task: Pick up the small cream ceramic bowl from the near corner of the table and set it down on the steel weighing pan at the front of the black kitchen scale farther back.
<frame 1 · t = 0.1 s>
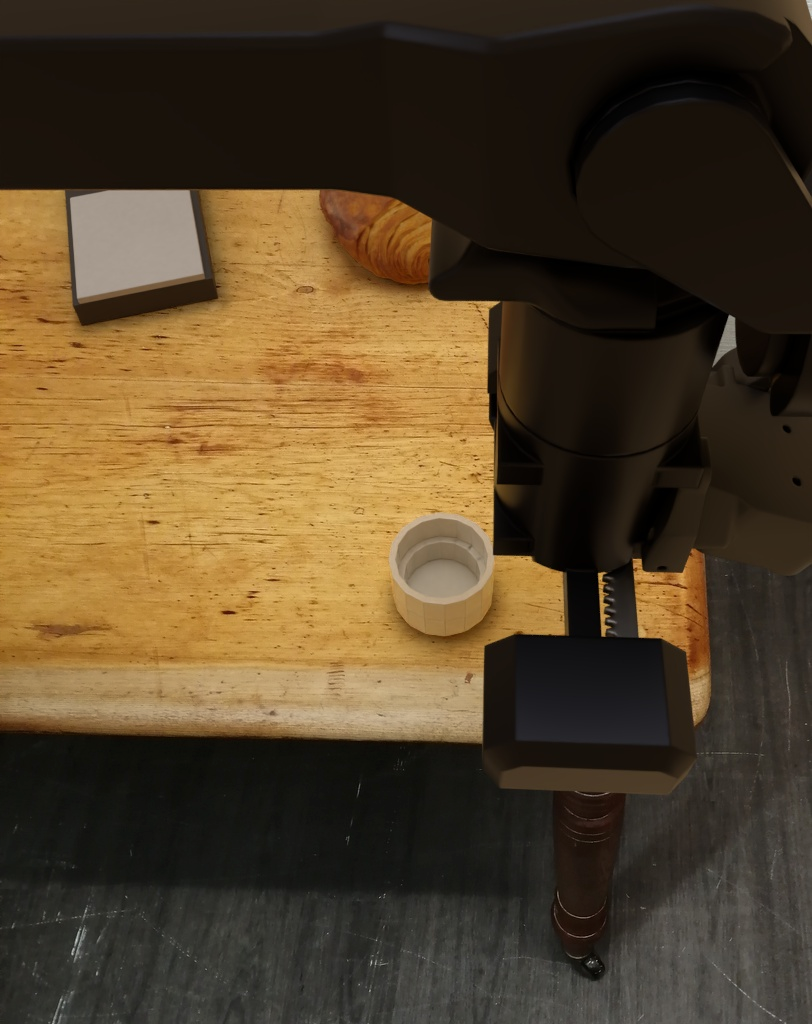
hand: (556, 621, 41), 14 cm above the table, tool pointing down, fingers open, 9 cm apart
bowl: (443, 595, 58), on the table
scale: (135, 196, 79), on the table
croissant: (417, 222, 76), on the table
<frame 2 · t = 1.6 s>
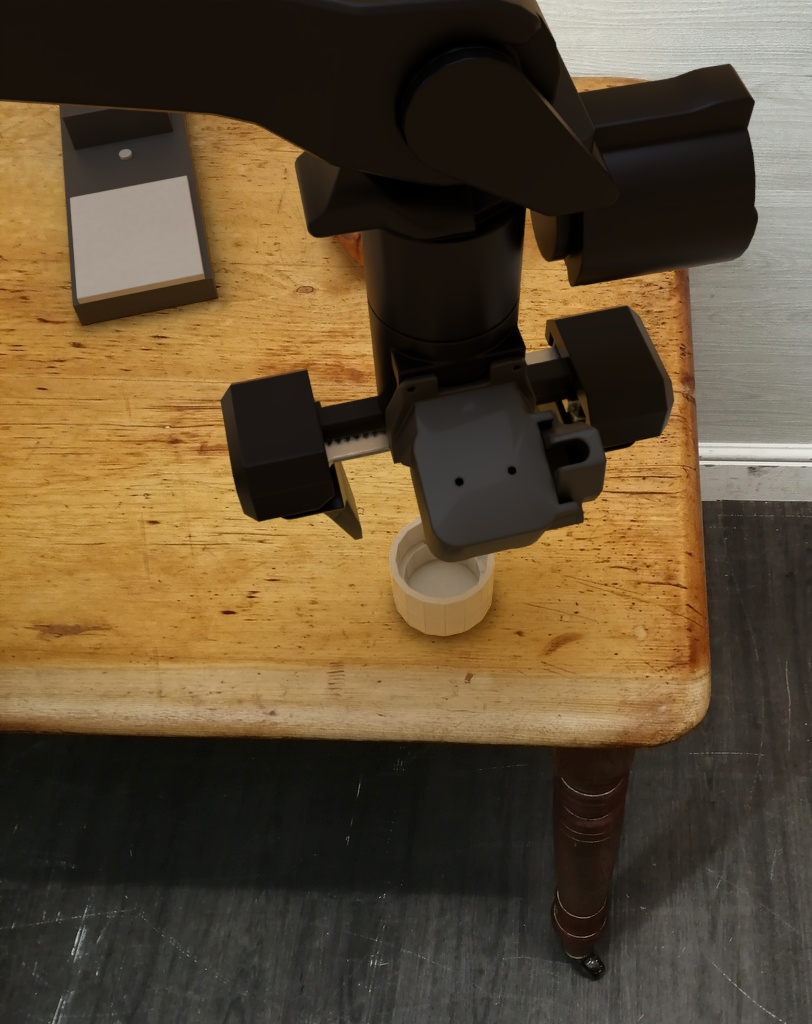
hand: (446, 512, 50), 10 cm above the table, tool pointing down, fingers open, 9 cm apart
nothing on the table moved.
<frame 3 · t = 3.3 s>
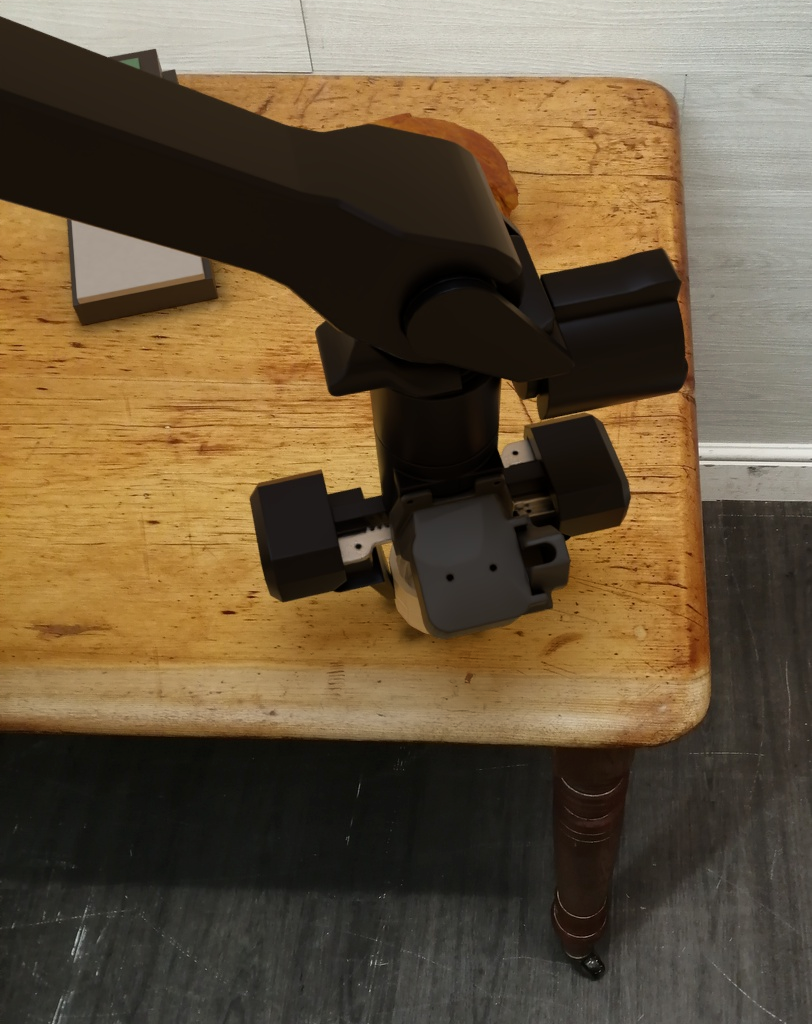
hand: (440, 581, 58), 1 cm above the table, tool pointing down, fingers closed on bowl, 6 cm apart
bowl: (443, 594, 58), on the table, touching gripper
everything else where it was.
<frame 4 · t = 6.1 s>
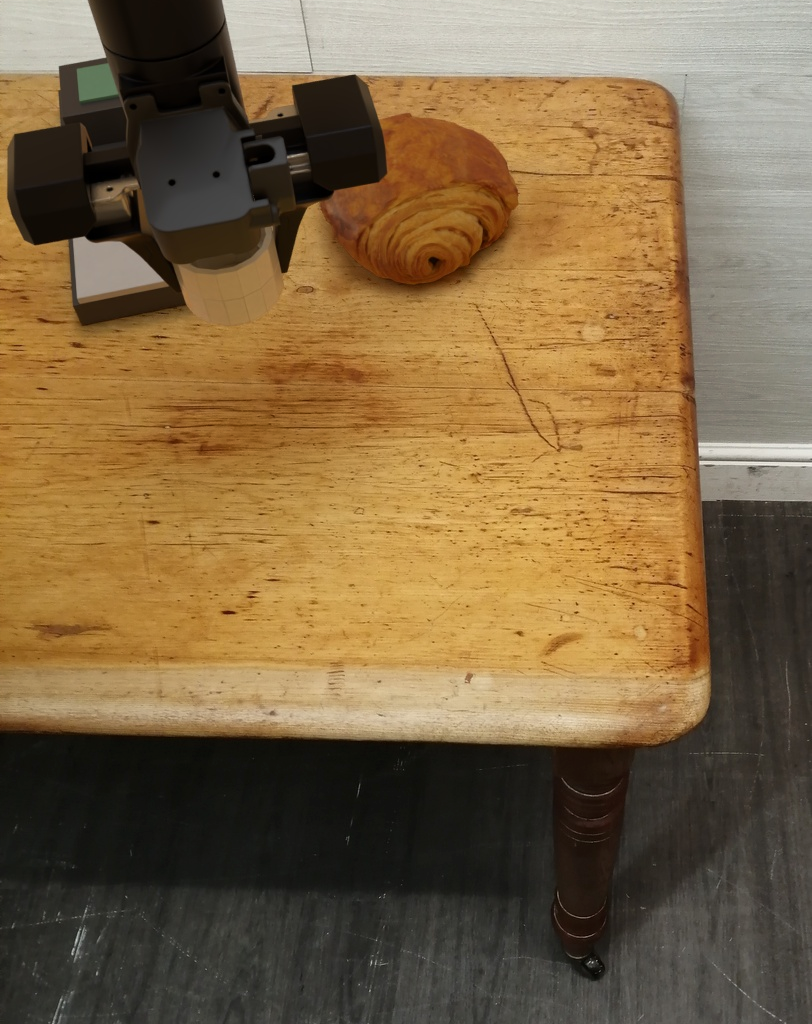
hand: (231, 278, 58), 11 cm above the table, tool pointing down, fingers closed on bowl, 6 cm apart
bowl: (236, 295, 58), point 10 cm above the table, touching gripper
everything else where it was.
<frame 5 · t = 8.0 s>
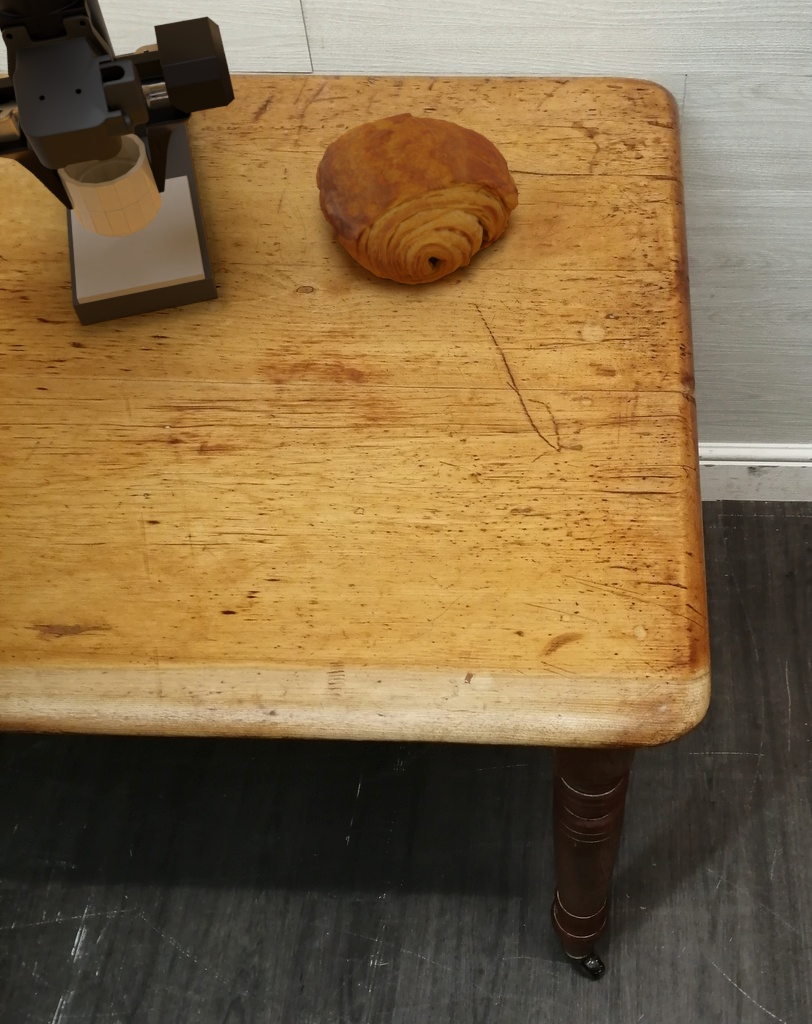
hand: (116, 197, 68), 7 cm above the table, tool pointing down, fingers closed on bowl, 6 cm apart
bowl: (121, 212, 68), point 6 cm above the table, touching gripper
everything else where it was.
when the fingers open (4 cm above the table, at t = 9.4 s): bowl stays where it is, resting on scale.
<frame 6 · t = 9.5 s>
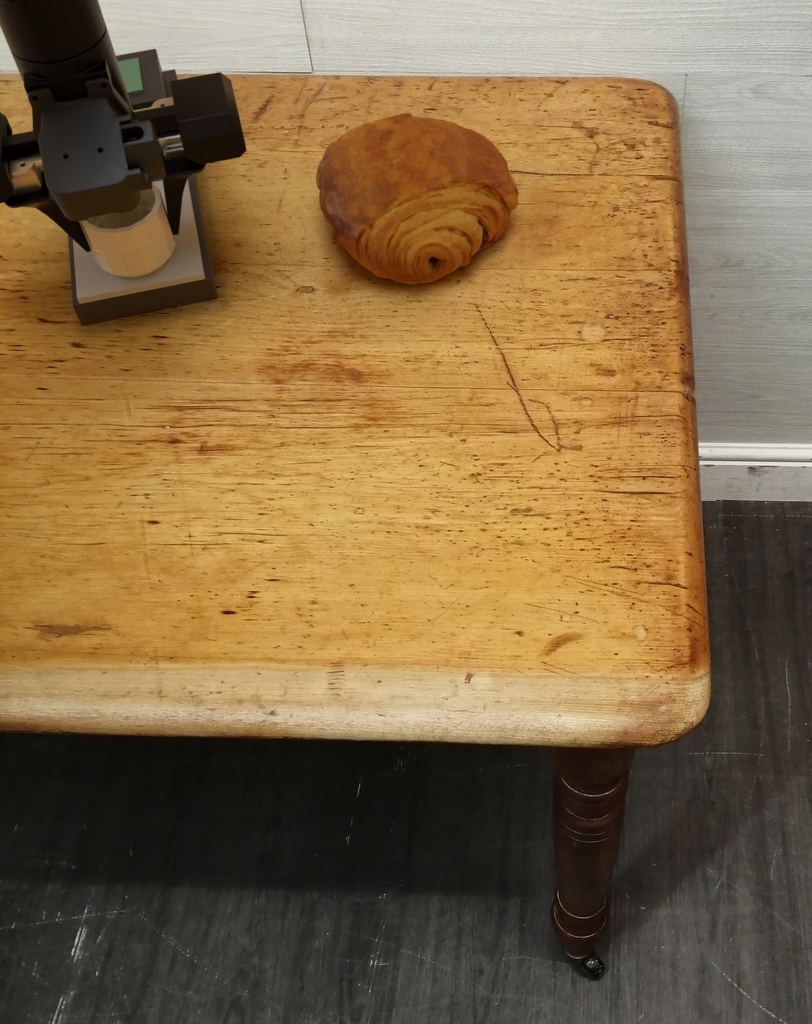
hand: (132, 239, 71), 4 cm above the table, tool pointing down, fingers open, 6 cm apart
bowl: (136, 253, 72), point 3 cm above the table, touching scale
everything else where it was.
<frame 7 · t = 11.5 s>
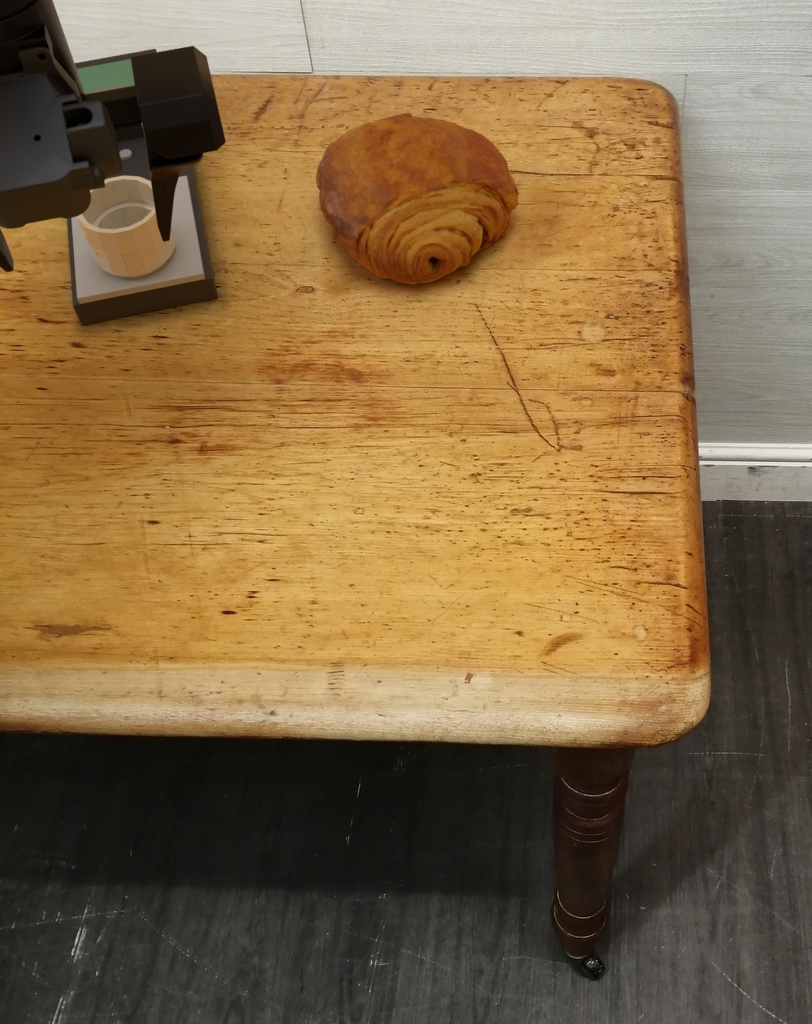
hand: (88, 251, 59), 12 cm above the table, tool pointing down, fingers open, 9 cm apart
nothing on the table moved.
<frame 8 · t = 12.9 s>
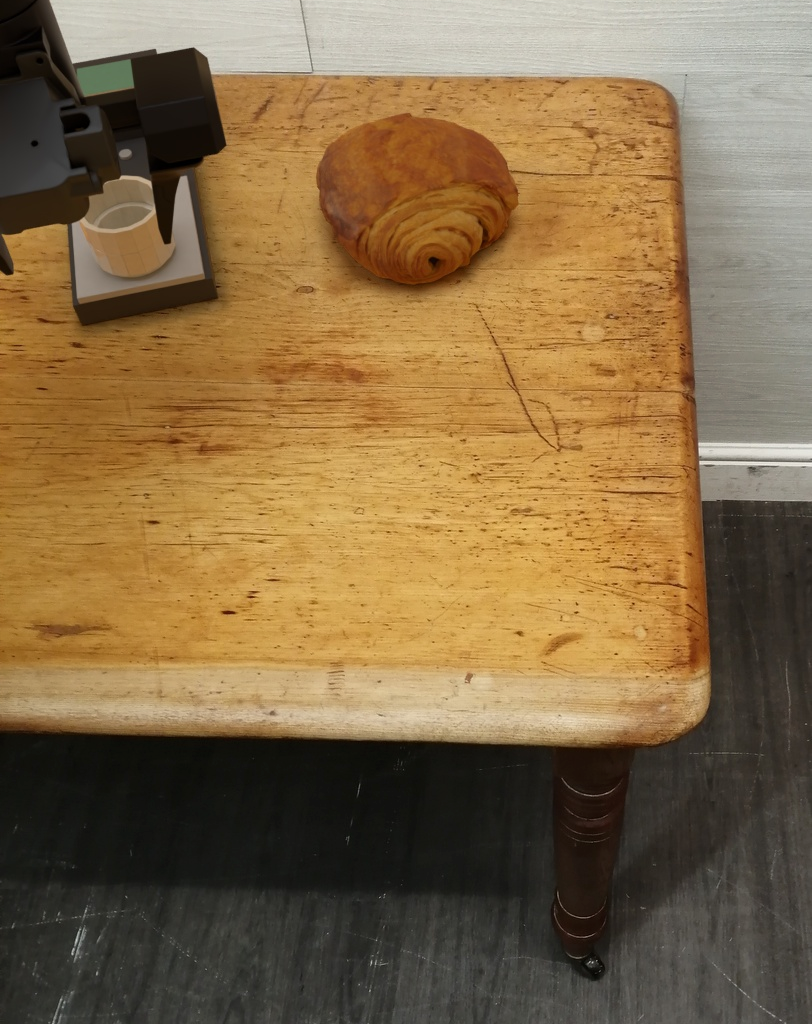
hand: (89, 254, 58), 12 cm above the table, tool pointing down, fingers open, 9 cm apart
nothing on the table moved.
at the end: bowl inside the target area on the scale (2.1 cm from its centre), point 2.6 cm above the scale's base; bowl tilted 0°; the gripper is holding nothing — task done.
